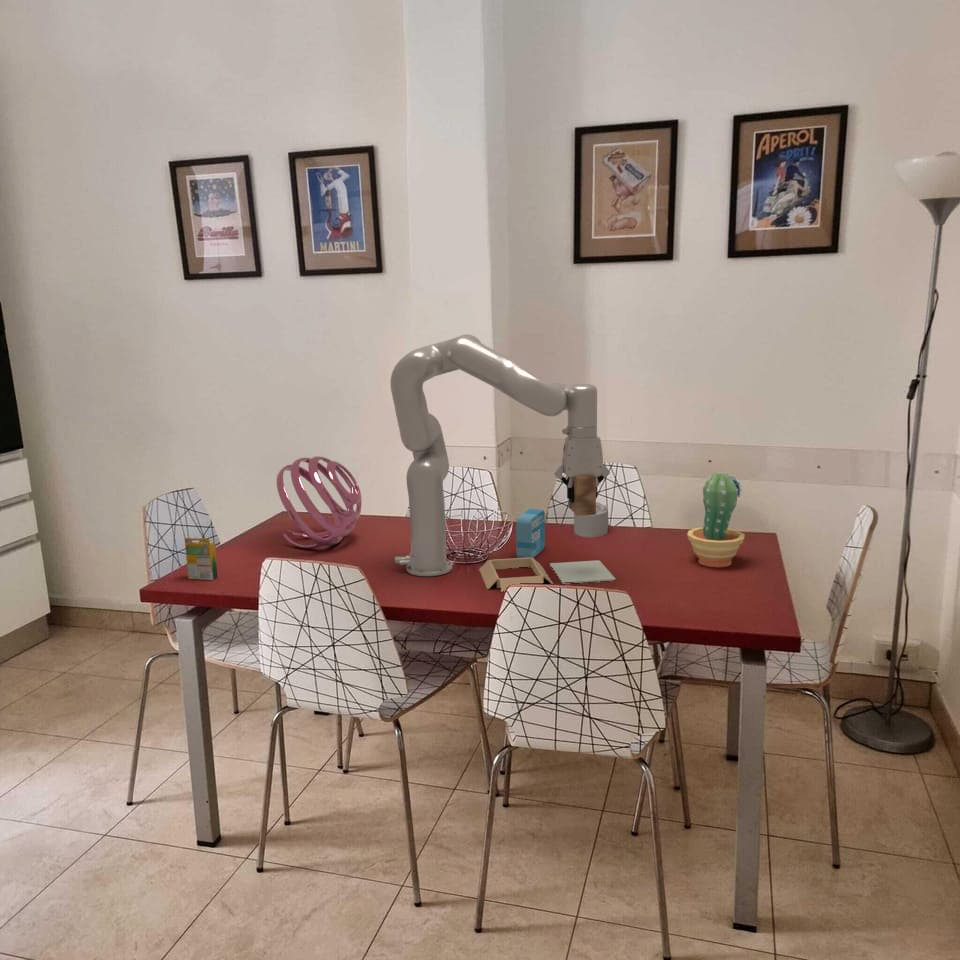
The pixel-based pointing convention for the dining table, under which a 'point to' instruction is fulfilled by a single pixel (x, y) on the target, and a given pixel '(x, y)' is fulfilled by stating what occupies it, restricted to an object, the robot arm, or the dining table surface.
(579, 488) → the walnut box
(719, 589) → the dining table surface
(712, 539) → the potted cactus
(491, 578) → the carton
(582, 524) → the lumpy-topped squat cylinder
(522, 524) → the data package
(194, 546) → the crayon box
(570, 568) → the plate
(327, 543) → the spiral basket
